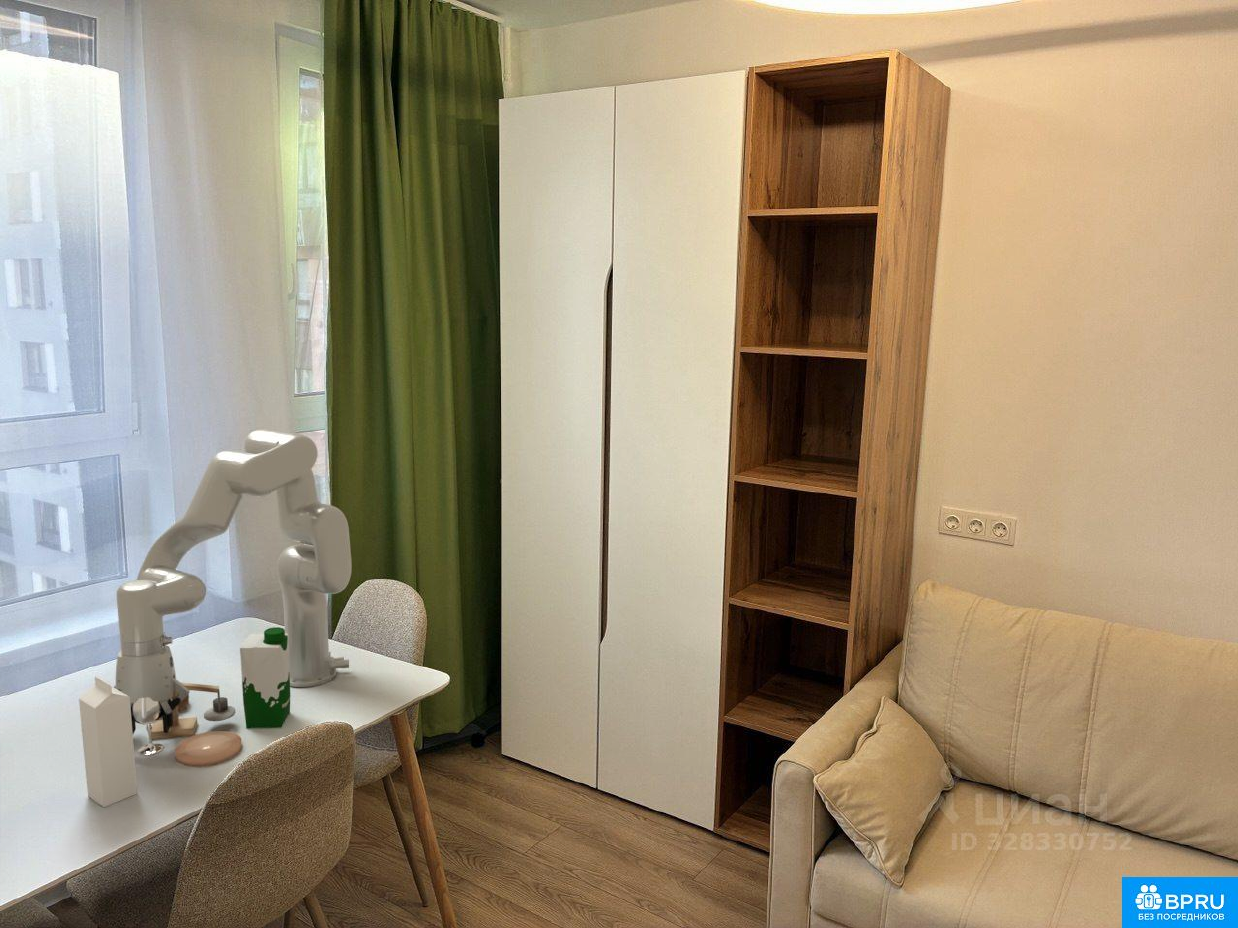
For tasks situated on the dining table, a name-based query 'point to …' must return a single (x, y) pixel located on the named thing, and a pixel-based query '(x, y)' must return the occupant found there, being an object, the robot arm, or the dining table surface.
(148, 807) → the dining table surface
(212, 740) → the dish
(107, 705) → the milk
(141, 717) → the wineglass
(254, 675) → the milk carton
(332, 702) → the dining table surface
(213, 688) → the balance
